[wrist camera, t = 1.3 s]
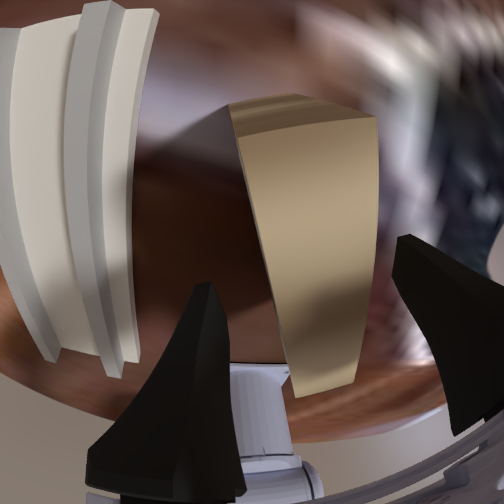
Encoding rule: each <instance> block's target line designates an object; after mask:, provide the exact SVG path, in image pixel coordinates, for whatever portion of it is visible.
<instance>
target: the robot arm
mask: <svg viewBox="0 0 504 504" xmlns="http://www.w3.org/2000/svg"><path fill="white" fill-rule="evenodd" d="M392 278H393V280H394V283H395V285H396V287H397V289H398V291H399V293H400V296H401V298H402V299H403V301H404V303H405V304H406V306H407V308H408V309H409V311H410V313H411V314H412V316H413V318H414V319H415V321H416V323H417V324H418V326H419V328H420V330H421V331H422V333H423V335H424V337H425V338H426V340H427V342H428V344H429V346H430V349H431V351H432V354H433V356H434V359H435V362H436V364H437V367H438V370H439V373H440V377H441V380H442V383H443V387H444V391H445V395H446V399H447V404H448V410H449V416H450V423H451V430H452V433H453V435H454V436H457V435H458V434H460V433H461V432H463V431H465V430H466V429H467V428H469V427H471V426H472V425H474V424H475V423H476V422H478V421H480V420H481V419H482V418H484V421H485V423H484V424H483V425H482V426H480V427H479V428H477V429H476V430H475V431H473V432H471V433H470V434H468V435H467V436H465V437H464V438H462V439H461V440H459V441H457V442H456V443H454V444H453V445H451V446H449V447H447V448H446V449H444V450H442V451H440V452H439V453H437V454H435V455H433V456H431V457H429V458H427V459H425V460H424V461H422V462H419V463H417V464H415V465H413V466H411V467H409V468H407V469H404V470H402V471H400V472H398V473H395V474H393V475H390V476H388V477H385V478H383V479H380V480H378V481H375V482H372V483H369V484H367V485H363V486H361V487H357V488H354V489H351V490H348V491H344V492H341V493H337V494H333V495H329V496H326V497H324V492H323V486H322V482H321V479H320V477H319V474H318V472H317V471H316V469H315V468H314V467H313V466H311V465H310V464H309V463H308V462H306V461H301V457H300V455H294V454H293V448H292V443H291V438H290V432H289V427H288V422H287V417H286V412H285V406H284V401H283V396H282V391H281V386H282V385H283V383H284V382H285V380H286V379H287V377H288V376H289V375H290V371H289V367H288V364H241V363H230V341H229V333H228V326H227V318H226V315H225V313H224V311H223V308H222V306H221V304H220V301H219V299H218V297H217V294H216V292H215V289H214V287H213V285H212V282H206V283H202V284H197V285H195V286H194V288H193V290H192V292H191V295H190V297H189V299H188V302H187V304H186V306H185V309H184V311H183V313H182V316H181V318H180V320H179V322H178V324H177V326H176V329H175V331H174V333H173V335H172V337H171V339H170V341H169V343H168V345H167V347H166V349H165V350H164V352H163V354H162V356H161V358H160V360H159V361H158V363H157V365H156V367H155V368H154V370H153V372H152V373H151V375H150V376H149V378H148V380H147V381H146V383H145V384H144V385H143V387H142V388H141V390H140V391H139V393H138V394H137V396H136V397H135V398H134V400H133V401H132V402H131V404H130V405H129V406H128V407H127V408H126V410H125V411H124V412H123V413H122V414H121V416H120V417H119V418H118V419H117V420H116V422H115V423H114V424H113V425H112V426H111V427H110V428H109V429H108V430H107V431H106V432H105V433H104V434H103V436H101V437H100V438H99V439H98V440H97V441H96V442H95V443H94V444H93V445H92V446H91V447H90V448H89V449H88V454H87V464H86V478H85V484H86V485H87V486H89V487H93V488H96V489H100V490H104V491H108V492H112V493H117V494H120V499H114V498H110V497H106V496H102V495H98V494H94V493H90V492H87V493H86V504H365V503H367V502H370V501H373V500H376V499H379V498H381V497H384V496H387V495H389V494H392V493H394V492H396V491H399V490H401V489H403V488H405V487H408V486H410V485H412V484H414V483H416V482H418V481H420V480H422V479H424V478H426V477H428V476H430V475H432V474H434V473H436V472H438V471H439V470H441V469H443V468H445V467H446V466H448V465H450V464H452V463H453V462H455V461H456V460H458V459H460V458H461V457H463V456H464V455H466V454H467V453H469V452H470V451H472V450H473V449H475V448H476V447H478V446H479V449H478V451H476V452H474V453H472V454H470V455H469V456H467V457H465V458H463V459H462V460H460V461H458V462H456V463H455V464H453V465H452V466H451V467H449V468H448V469H447V470H445V471H444V473H443V474H444V478H443V479H441V480H439V481H437V482H435V483H433V484H431V485H429V486H427V487H425V488H422V489H420V490H418V491H416V492H414V493H412V494H409V495H406V496H404V497H402V498H399V499H396V500H394V501H392V502H389V503H386V504H504V286H502V285H500V284H498V283H496V282H494V281H492V280H490V279H488V278H486V277H484V276H482V275H480V274H479V273H477V272H475V271H473V270H472V269H470V268H468V267H466V266H465V265H463V264H461V263H459V262H458V261H456V260H454V259H453V258H451V257H450V256H448V255H446V254H445V253H443V252H441V251H440V250H438V249H436V248H435V247H433V246H431V245H430V244H428V243H426V242H424V241H423V240H421V239H419V238H417V237H415V236H413V235H411V234H407V235H403V236H400V237H397V245H396V252H395V258H394V265H393V271H392Z"/></svg>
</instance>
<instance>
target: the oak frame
mask: <svg viewBox="0 0 504 504" xmlns="http://www.w3.org/2000/svg"><path fill="white" fill-rule="evenodd" d="M228 108H229V112H230V116H231V120H232V125H233V129H234V133H235V137H236V145H237V150H238V154H239V158H240V162H241V166H242V170H243V175H244V179H245V183H246V187H247V191H248V196H249V200H250V204H251V208H252V213H253V217H254V221H255V225H256V230H257V234H258V238H259V243H260V247H261V251H262V255H263V260H264V264H265V269H266V273H267V277H268V282H269V286H270V290H271V295H272V299H273V304H274V308H275V312H276V317H277V321H278V326H279V330H280V335H281V339H282V344H283V348H284V353H285V357H286V362H287V363H288V367H289V371H290V376H291V380H292V385H293V389H294V394H295V398H298V397H302V396H306V395H310V394H314V393H318V392H322V391H326V390H329V389H333V388H336V387H340V386H343V385H346V384H350V383H353V381H354V377H355V373H356V369H357V365H358V360H359V356H360V351H361V346H362V341H363V336H364V331H365V325H366V319H367V313H368V307H369V300H370V293H371V286H372V278H373V269H374V260H375V249H376V236H377V220H378V193H379V158H378V132H377V117H375V116H373V115H370V114H367V113H364V112H361V111H358V110H355V109H351V108H348V107H345V106H341V105H338V104H335V103H331V102H327V101H324V100H320V99H316V98H312V97H308V96H303V95H299V94H294V93H284V94H278V95H272V96H266V97H261V98H255V99H250V100H245V101H241V102H236V103H232V104H228Z"/></svg>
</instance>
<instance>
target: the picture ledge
mask: <svg viewBox="0 0 504 504" xmlns="http://www.w3.org/2000/svg"><path fill="white" fill-rule="evenodd" d="M159 16H160V14H159V13H158V12H157V11H156V10H155V9H125V8H123V7H121V6H120V5H118V4H117V3H115V2H113V1H112V0H110V1H102V2H94V3H88V4H84V7H83V11H82V14H79V15H74V16H68V17H63V18H59V19H54V20H50V21H46V22H42V23H38V24H35V25H31V26H28V27H25V28H21V29H20V28H0V265H1V268H2V271H3V273H4V276H5V279H6V281H7V284H8V286H9V289H10V291H11V294H12V296H13V299H14V301H15V303H16V305H17V308H18V310H19V312H20V314H21V316H22V318H23V320H24V322H25V324H26V326H27V328H28V330H29V332H30V334H31V336H32V338H33V340H34V342H35V343H36V345H37V347H38V349H39V350H40V352H41V354H42V356H43V357H44V359H45V360H46V361H50V362H53V363H57V359H58V356H59V353H60V351H61V348H62V347H63V348H67V349H71V350H75V351H79V352H83V353H88V354H92V355H97V356H100V358H101V360H102V363H103V366H104V368H105V371H106V374H107V376H110V377H115V378H120V379H121V376H122V370H123V365H124V361H128V362H135V363H139V359H140V352H141V351H140V344H139V336H138V328H137V319H136V309H135V298H134V284H133V266H132V187H133V169H134V156H135V145H136V135H137V126H138V118H139V111H140V104H141V97H142V91H143V85H144V80H145V74H146V69H147V64H148V60H149V55H150V51H151V46H152V42H153V38H154V34H155V30H156V26H157V23H158V19H159Z"/></svg>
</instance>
